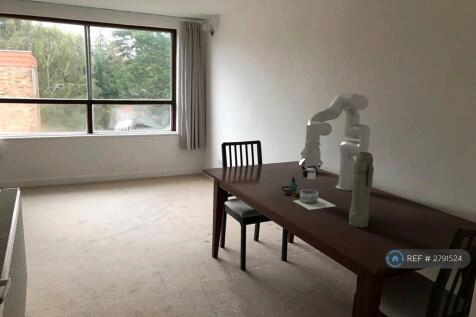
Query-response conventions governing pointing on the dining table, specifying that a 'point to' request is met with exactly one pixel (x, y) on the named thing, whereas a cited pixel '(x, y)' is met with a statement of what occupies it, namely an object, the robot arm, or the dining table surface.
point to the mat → (319, 204)
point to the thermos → (361, 190)
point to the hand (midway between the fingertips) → (310, 176)
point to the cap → (311, 173)
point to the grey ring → (308, 196)
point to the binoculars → (293, 188)
